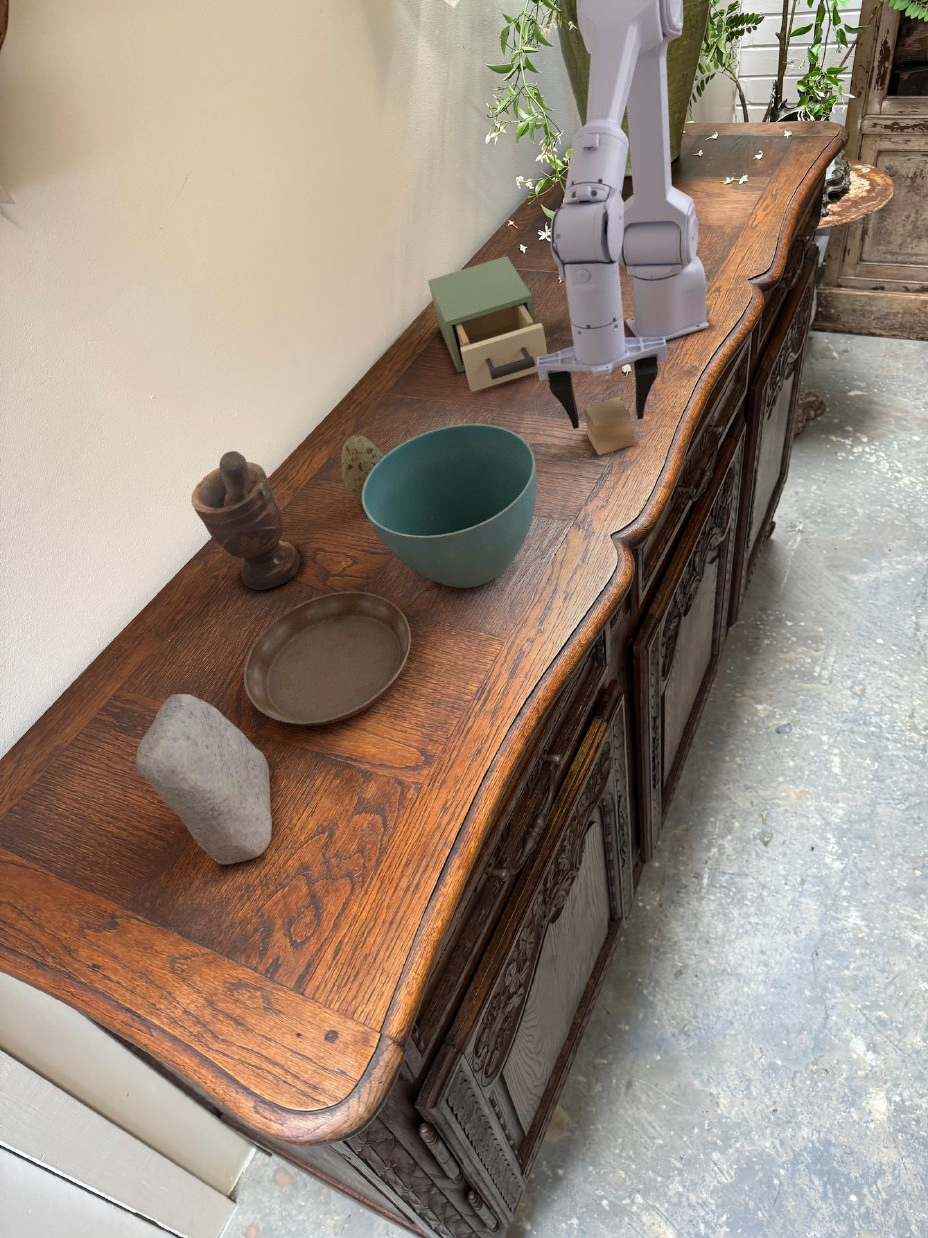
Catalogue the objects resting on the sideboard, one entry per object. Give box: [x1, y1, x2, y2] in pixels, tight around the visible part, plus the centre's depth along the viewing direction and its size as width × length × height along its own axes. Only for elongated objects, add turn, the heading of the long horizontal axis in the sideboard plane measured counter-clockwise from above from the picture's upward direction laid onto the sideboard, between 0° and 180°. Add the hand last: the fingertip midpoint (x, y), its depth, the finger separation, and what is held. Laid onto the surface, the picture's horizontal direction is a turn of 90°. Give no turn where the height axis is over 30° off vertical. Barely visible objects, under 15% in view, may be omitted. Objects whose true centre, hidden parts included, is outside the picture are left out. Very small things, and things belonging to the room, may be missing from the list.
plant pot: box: [362, 423, 538, 589], centre depth 90 cm, size 18×18×12 cm
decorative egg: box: [340, 434, 385, 507], centre depth 102 cm, size 6×6×10 cm
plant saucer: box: [243, 591, 412, 726], centre depth 86 cm, size 18×18×3 cm
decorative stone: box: [135, 693, 273, 865], centre depth 72 cm, size 11×6×15 cm, turn 5°
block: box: [583, 396, 634, 456], centre depth 102 cm, size 4×4×4 cm
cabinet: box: [427, 255, 537, 373], centre depth 125 cm, size 15×13×8 cm
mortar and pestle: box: [191, 450, 301, 591], centre depth 93 cm, size 12×9×20 cm
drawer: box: [452, 303, 549, 393], centre depth 117 cm, size 18×11×6 cm, turn 12°
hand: (607, 419), depth 102 cm, fingers open, 7 cm apart
